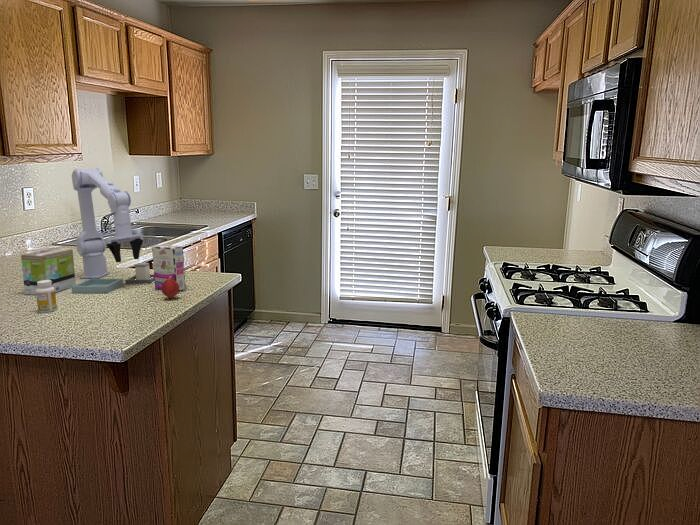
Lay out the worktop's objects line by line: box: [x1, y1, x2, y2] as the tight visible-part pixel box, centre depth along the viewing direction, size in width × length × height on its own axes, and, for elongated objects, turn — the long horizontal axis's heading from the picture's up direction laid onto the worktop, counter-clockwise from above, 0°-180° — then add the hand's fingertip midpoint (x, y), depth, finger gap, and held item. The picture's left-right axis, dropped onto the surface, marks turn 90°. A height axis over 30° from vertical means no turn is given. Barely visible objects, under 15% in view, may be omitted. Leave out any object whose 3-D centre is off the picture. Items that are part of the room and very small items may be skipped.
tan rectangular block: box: [134, 262, 151, 280], centre depth 216 cm, size 4×4×7 cm
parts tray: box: [70, 278, 124, 294], centre depth 204 cm, size 13×13×2 cm
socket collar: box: [125, 274, 155, 285], centre depth 216 cm, size 10×10×2 cm
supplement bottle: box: [35, 280, 58, 314], centre depth 175 cm, size 5×5×10 cm
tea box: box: [20, 248, 77, 296], centre depth 201 cm, size 15×10×15 cm
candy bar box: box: [151, 244, 187, 292], centre depth 201 cm, size 11×5×16 cm, turn 62°
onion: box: [161, 276, 180, 300], centre depth 189 cm, size 6×6×8 cm
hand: (127, 260), depth 205 cm, fingers open, 7 cm apart
